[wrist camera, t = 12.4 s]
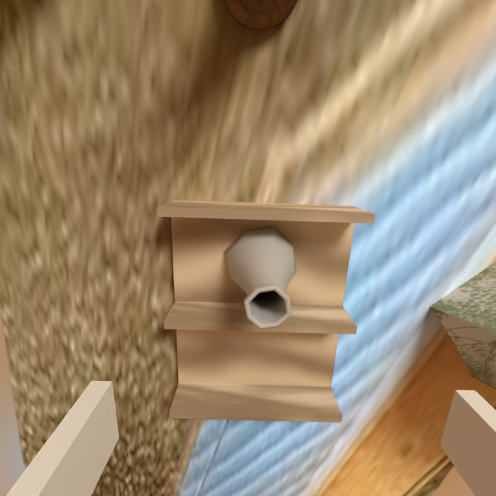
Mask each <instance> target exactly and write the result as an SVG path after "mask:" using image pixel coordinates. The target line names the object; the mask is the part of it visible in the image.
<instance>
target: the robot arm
mask: <svg viewBox="0 0 496 496" xmlns="http://www.w3.org/2000/svg"><path fill="white" fill-rule="evenodd" d="M118 439H119V434H118V426H117V418H116V410H115V401H114V393H113V385H112V382H111V381H91V383H90V384H89V385H88V387H87V388H86V389H85V391H84V392H83V393H82V395H81V396H80V397H79V399H78V400H77V401H76V403H75V404H74V405H73V407H72V408H71V410H70V411H69V412H68V414H67V415H66V416H65V418H64V419H63V420H62V422H61V423H60V424H59V426H58V427H57V428H56V430H55V431H54V432H53V434H52V435H51V436H50V438H49V439H48V440H47V442H46V443H45V444H44V446H43V447H42V448H41V450H40V451H39V452H38V454H37V455H36V456H35V458H34V459H33V460H32V462H31V463H30V464H29V466H28V467H27V468H26V470H25V471H24V473H23V474H22V475H21V477H20V478H19V479H18V481H17V482H16V483H15V485H14V486H13V487H12V489H11V490H10V491H9V493H8V494H7V495H6V496H91V495H92V493H93V491H94V489H95V487H96V485H97V482H98V480H99V478H100V476H101V474H102V472H103V470H104V468H105V466H106V464H107V462H108V460H109V458H110V456H111V453H112V451H113V449H114V447H115V445H116V443H117V441H118ZM440 447H441V448H442V449H443V451H444V452H445V454H446V455H447V456H448V458H449V459H450V461H451V462H452V464H453V465H454V466H455V468H456V469H457V471H458V472H459V473H460V475H461V476H462V478H463V479H464V481H465V482H466V483H467V485H468V486H469V488H470V489H471V490H472V492H473V493H474V495H475V496H496V410H495V409H494V408H493V407H492V406H491V405H490V404H489V403H488V402H487V401H486V400H485V399H483V398H482V397H481V396H480V395H479V394H478V393H477V392H476V391H475V390H455V393H454V396H453V400H452V403H451V407H450V410H449V414H448V417H447V421H446V424H445V428H444V431H443V435H442V438H441V442H440Z"/></svg>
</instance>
